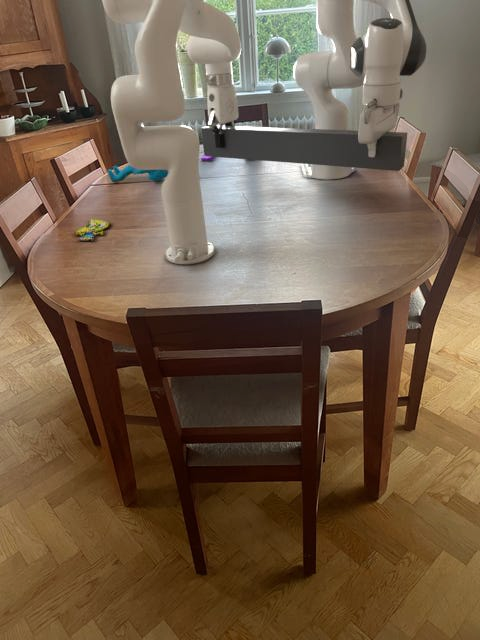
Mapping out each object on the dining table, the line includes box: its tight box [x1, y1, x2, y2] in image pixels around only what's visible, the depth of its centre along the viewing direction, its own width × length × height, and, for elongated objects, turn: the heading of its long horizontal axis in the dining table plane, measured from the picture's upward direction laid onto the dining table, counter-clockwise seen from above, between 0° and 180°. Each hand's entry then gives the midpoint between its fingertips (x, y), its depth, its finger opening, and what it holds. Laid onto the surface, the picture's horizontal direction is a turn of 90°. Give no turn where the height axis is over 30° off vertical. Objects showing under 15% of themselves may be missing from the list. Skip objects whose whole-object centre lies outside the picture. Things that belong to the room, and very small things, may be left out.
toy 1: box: [74, 219, 111, 242], centre depth 143 cm, size 10×1×15 cm
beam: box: [201, 125, 408, 172], centre depth 137 cm, size 62×5×8 cm, turn 58°
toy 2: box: [107, 163, 168, 183], centre depth 182 cm, size 17×11×30 cm
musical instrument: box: [199, 151, 216, 162], centre depth 208 cm, size 24×2×20 cm
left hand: (225, 144), depth 149 cm, fingers closed on beam, 4 cm apart
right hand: (376, 153), depth 126 cm, fingers closed on beam, 4 cm apart
